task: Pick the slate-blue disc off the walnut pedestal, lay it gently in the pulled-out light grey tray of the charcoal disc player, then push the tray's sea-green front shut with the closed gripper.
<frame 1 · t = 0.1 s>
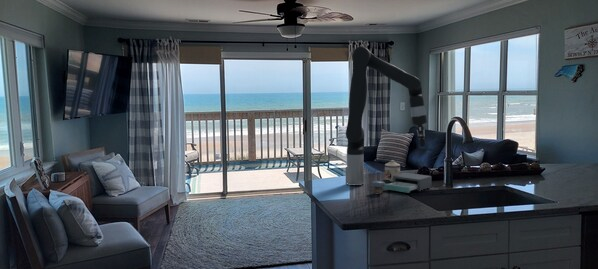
hand: (422, 145, 219), 22 cm above the countertop, tool pointing down, fingers open, 8 cm apart
teacup with lid: (393, 180, 241), on the countertop
player housing: (412, 187, 222), on the countertop
disc: (378, 185, 209), point 4 cm above the countertop, touching pedestal
tray: (401, 186, 215), point 2 cm above the countertop, slide at 9.0 cm
pedestal: (378, 193, 209), on the countertop
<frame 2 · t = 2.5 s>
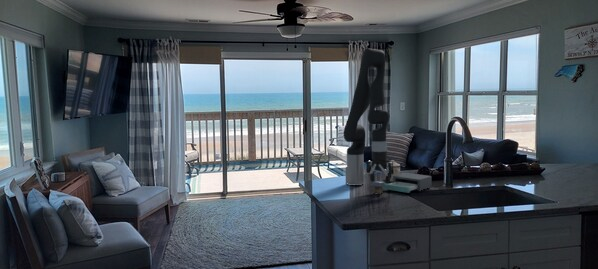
hand: (380, 182, 208), 6 cm above the countertop, tool pointing down, fingers open, 8 cm apart
disc: (378, 185, 209), point 4 cm above the countertop, touching gripper, pedestal
everything else where it was.
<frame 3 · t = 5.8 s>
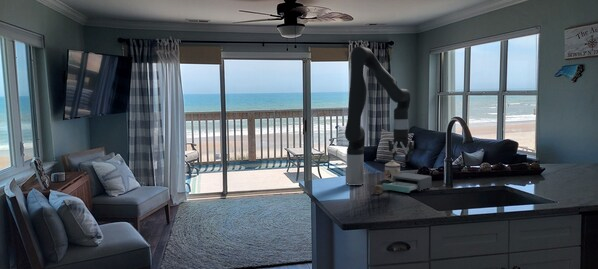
hand: (401, 160, 213), 16 cm above the countertop, tool pointing down, fingers closed on disc, 6 cm apart
disc: (401, 159, 213), point 16 cm above the countertop, touching gripper
everything else where it was.
when the fingers open (2 cm above the countertop, at t = 8.4 s): disc drops 1 cm, resting on tray.
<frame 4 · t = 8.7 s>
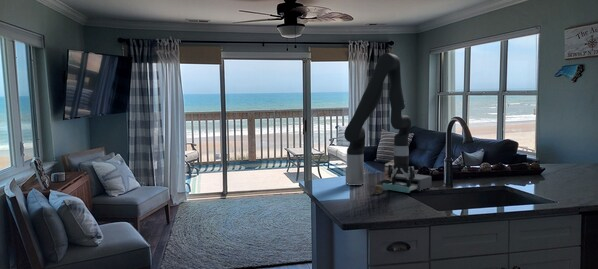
hand: (401, 185, 214), 3 cm above the countertop, tool pointing down, fingers open, 8 cm apart
disc: (401, 187, 214), point 2 cm above the countertop, touching tray
tray: (401, 186, 215), point 2 cm above the countertop, slide at 9.0 cm, touching disc
everything else where it was.
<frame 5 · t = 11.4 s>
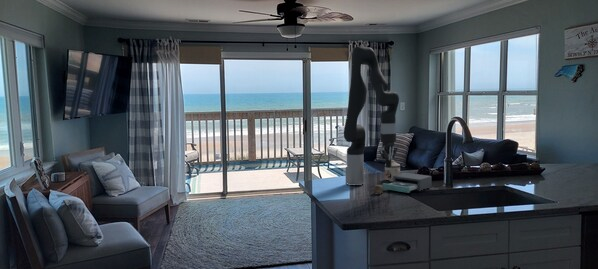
hand: (388, 167, 205), 14 cm above the countertop, tool pointing down, fingers closed
nothing on the countertop moved.
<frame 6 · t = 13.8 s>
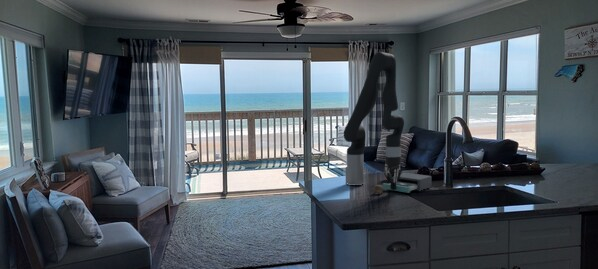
hand: (393, 189, 209), 2 cm above the countertop, tool pointing down, fingers closed
tray: (401, 186, 215), point 2 cm above the countertop, slide at 8.9 cm, touching disc, gripper
everything else where it was.
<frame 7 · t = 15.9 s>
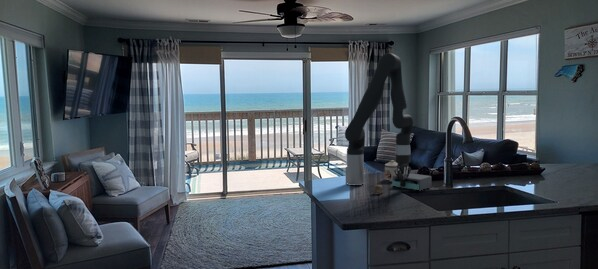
hand: (402, 186, 216), 2 cm above the countertop, tool pointing down, fingers closed
disc: (410, 184, 221), point 2 cm above the countertop, touching tray
tray: (410, 183, 221), point 2 cm above the countertop, slide at -0.1 cm, touching disc, gripper
everything else where it was.
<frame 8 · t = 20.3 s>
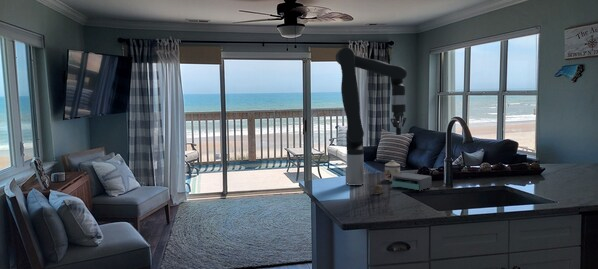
hand: (398, 134, 233), 27 cm above the countertop, tool pointing down, fingers closed
tray: (410, 183, 221), point 2 cm above the countertop, slide at 0.0 cm, touching disc
everything else where it was.
at the end: tray slide at 0.0 cm; disc inside the target area (1.8 cm from its centre), point 1.7 cm above the countertop; disc tilted 0° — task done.
